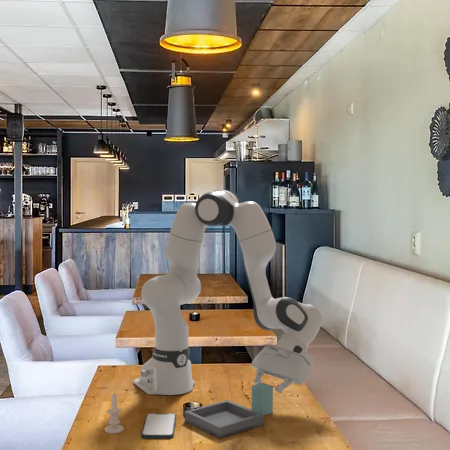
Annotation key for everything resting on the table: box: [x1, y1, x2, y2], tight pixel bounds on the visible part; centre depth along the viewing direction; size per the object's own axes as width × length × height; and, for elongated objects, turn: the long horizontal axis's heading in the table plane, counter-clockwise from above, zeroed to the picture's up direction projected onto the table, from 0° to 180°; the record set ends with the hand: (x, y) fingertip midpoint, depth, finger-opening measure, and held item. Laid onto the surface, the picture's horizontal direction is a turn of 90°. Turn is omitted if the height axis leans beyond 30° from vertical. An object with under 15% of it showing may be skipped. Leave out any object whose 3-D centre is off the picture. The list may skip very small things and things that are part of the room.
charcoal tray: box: [184, 399, 265, 440], centre depth 172 cm, size 16×16×3 cm
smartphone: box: [140, 412, 177, 440], centre depth 168 cm, size 9×2×16 cm
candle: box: [104, 392, 125, 434], centre depth 166 cm, size 5×5×10 cm
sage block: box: [251, 382, 274, 416], centre depth 181 cm, size 4×4×8 cm
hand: (266, 387), depth 182 cm, fingers open, 8 cm apart
